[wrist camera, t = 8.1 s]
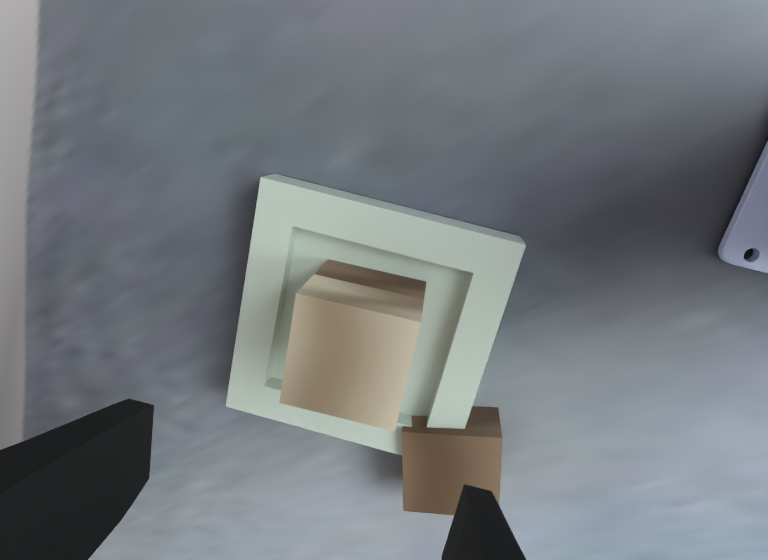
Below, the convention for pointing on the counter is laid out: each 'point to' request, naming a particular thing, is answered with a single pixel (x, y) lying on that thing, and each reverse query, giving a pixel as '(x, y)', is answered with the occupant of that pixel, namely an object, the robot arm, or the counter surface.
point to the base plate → (383, 253)
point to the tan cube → (353, 343)
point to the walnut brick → (450, 461)
